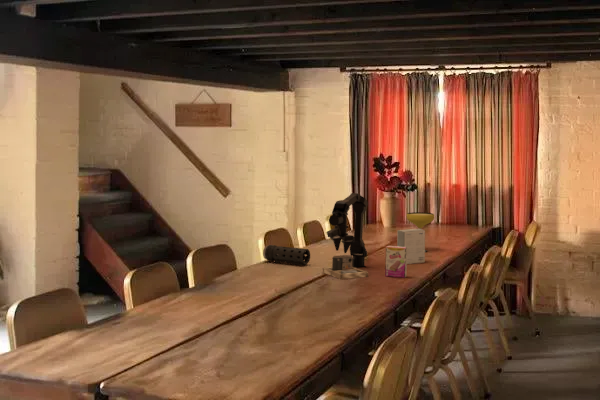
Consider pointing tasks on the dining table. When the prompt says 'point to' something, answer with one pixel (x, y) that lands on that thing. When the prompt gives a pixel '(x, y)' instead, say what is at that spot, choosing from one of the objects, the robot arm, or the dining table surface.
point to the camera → (342, 262)
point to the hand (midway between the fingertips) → (341, 251)
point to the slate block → (349, 271)
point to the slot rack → (347, 275)
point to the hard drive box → (412, 244)
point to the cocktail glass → (420, 219)
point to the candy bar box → (396, 261)
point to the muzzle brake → (286, 255)
